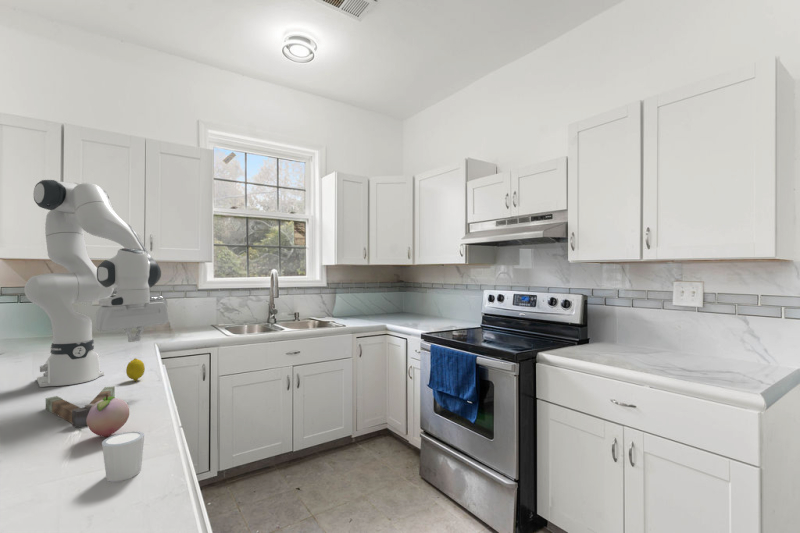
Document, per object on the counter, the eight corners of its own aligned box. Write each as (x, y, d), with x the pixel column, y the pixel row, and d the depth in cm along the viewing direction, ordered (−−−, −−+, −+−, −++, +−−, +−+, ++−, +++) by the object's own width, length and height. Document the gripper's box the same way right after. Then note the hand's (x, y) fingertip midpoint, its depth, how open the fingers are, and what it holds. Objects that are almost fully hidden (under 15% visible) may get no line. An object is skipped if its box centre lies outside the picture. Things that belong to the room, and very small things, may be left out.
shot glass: (116, 466, 82) (115, 431, 82) (151, 464, 82) (151, 429, 82) (93, 484, 75) (92, 446, 75) (132, 482, 75) (131, 444, 75)
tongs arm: (97, 417, 108) (96, 405, 108) (85, 418, 107) (85, 407, 107) (114, 395, 127) (114, 386, 127) (105, 397, 126) (105, 387, 126)
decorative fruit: (129, 439, 94) (128, 396, 95) (84, 448, 90) (84, 403, 90) (130, 426, 102) (129, 386, 102) (89, 433, 98) (89, 392, 98)
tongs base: (43, 409, 116) (43, 393, 116) (71, 403, 121) (70, 387, 121) (77, 428, 102) (76, 409, 102) (106, 419, 107) (106, 402, 107)
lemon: (135, 383, 141) (135, 360, 141) (122, 382, 142) (122, 359, 142) (148, 378, 147) (148, 357, 147) (135, 378, 148) (135, 356, 148)
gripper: (162, 295, 140) (163, 335, 140) (92, 300, 123) (93, 345, 123) (171, 296, 137) (172, 337, 137) (101, 301, 120) (101, 347, 120)
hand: (134, 341), depth 130 cm, fingers closed
